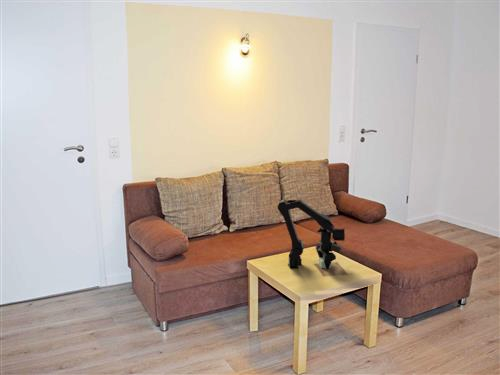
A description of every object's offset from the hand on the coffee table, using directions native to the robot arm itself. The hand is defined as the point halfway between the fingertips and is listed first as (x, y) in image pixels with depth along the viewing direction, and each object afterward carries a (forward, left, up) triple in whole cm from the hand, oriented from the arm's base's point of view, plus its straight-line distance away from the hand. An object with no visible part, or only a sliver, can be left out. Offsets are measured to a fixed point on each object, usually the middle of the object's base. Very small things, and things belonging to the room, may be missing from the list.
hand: (324, 266), depth 251 cm
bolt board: (+2, -4, -1) cm, 5 cm away
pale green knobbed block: (0, 0, 0) cm, 0 cm away
